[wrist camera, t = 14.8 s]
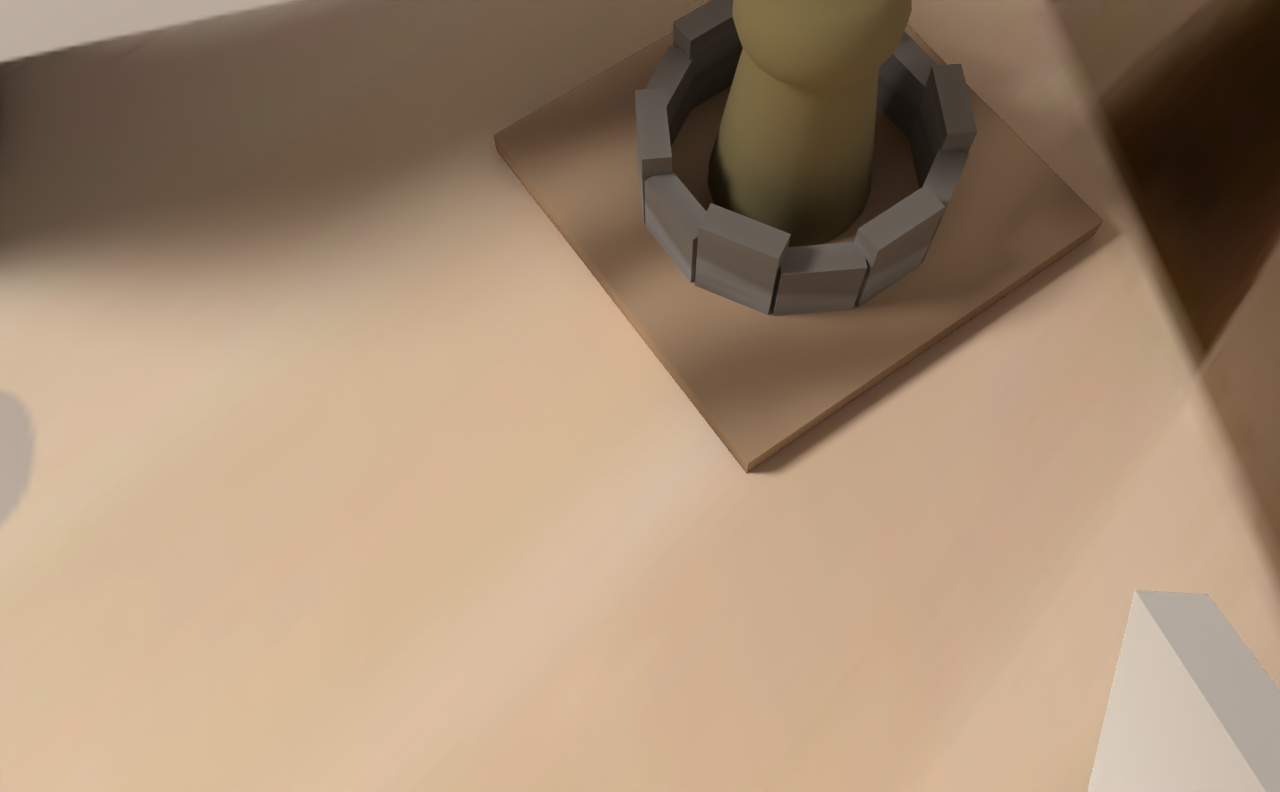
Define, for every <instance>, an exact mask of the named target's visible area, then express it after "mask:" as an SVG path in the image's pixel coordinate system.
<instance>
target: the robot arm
mask: <svg viewBox="0 0 1280 792" xmlns="http://www.w3.org/2000/svg"><path fill="white" fill-rule="evenodd" d="M1087 792H1280V689H1279V688H1278V686H1277V685H1276V684H1275V683H1274V681H1273V680H1272V679H1271V677H1270V676H1269V675H1268V673H1267V672H1266V671H1265V669H1264V668H1263V667H1262V665H1261V664H1260V663H1259V661H1258V660H1257V659H1256V657H1255V656H1254V655H1253V653H1252V652H1251V651H1250V649H1249V648H1248V647H1247V646H1246V644H1245V643H1244V642H1243V640H1242V639H1241V638H1240V636H1239V635H1238V634H1237V632H1236V631H1235V630H1234V628H1233V627H1232V626H1231V624H1230V623H1229V622H1228V620H1227V619H1226V618H1225V616H1224V615H1223V614H1222V612H1221V611H1220V610H1219V608H1218V607H1217V606H1216V605H1215V603H1214V602H1213V601H1212V599H1211V598H1210V597H1209V595H1208V594H1193V593H1176V592H1159V591H1142V590H1135V591H1134V596H1133V600H1132V604H1131V608H1130V613H1129V617H1128V621H1127V625H1126V630H1125V634H1124V638H1123V642H1122V647H1121V651H1120V655H1119V659H1118V664H1117V668H1116V672H1115V676H1114V680H1113V685H1112V689H1111V693H1110V697H1109V702H1108V706H1107V710H1106V714H1105V719H1104V723H1103V727H1102V731H1101V736H1100V740H1099V744H1098V748H1097V753H1096V757H1095V761H1094V765H1093V770H1092V774H1091V778H1090V782H1089V787H1088V791H1087Z"/></svg>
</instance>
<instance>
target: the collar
mask: <svg viewBox="0 0 1280 792" xmlns="http://www.w3.org/2000/svg"><path fill="white" fill-rule="evenodd" d="M732 13H733V0H712V1H710V2H708V3H707V4H705V5H703V6H701V7H700V8H698V9H696V10H694V11H693V12H691V13H689V14H687V15H686V16H684V17H682V18H680V19H679V20H677V21H675V22H674V30H673V32H672V33H671V34H669V35H667V36H665V37H664V38H662V39H660V40H658V41H657V42H655V43H653V44H651V45H650V46H648V47H646V48H645V49H643V50H641V51H639V52H638V53H636V54H634V55H632V56H631V57H629V58H627V59H625V60H624V61H622V62H620V63H618V64H617V65H615V66H613V67H612V68H610V69H608V70H606V71H605V72H603V73H601V74H599V75H598V76H596V77H594V78H592V79H591V80H589V81H587V82H585V83H584V84H582V85H580V86H579V87H577V88H575V89H573V90H572V91H570V92H568V93H566V94H565V95H563V96H561V97H559V98H558V99H556V100H554V101H552V102H551V103H549V104H547V105H545V106H544V107H542V108H540V109H539V110H537V111H535V112H533V113H532V114H530V115H528V116H526V117H525V118H523V119H521V120H519V121H518V122H516V123H514V124H512V125H511V126H509V127H507V128H506V129H504V130H502V131H500V132H499V133H497V134H495V135H494V139H495V144H496V148H497V151H498V153H499V154H500V155H501V156H502V158H503V159H504V160H505V162H506V163H507V164H508V165H509V167H510V168H511V169H512V171H513V172H514V173H515V174H516V176H517V177H518V178H519V180H520V181H521V182H522V184H523V185H524V186H525V187H526V189H527V190H528V191H529V193H530V194H531V195H532V196H533V198H534V199H535V200H536V202H537V203H538V204H539V205H540V207H541V208H542V209H543V211H544V212H545V213H546V215H547V216H548V217H549V218H550V220H551V221H552V222H553V224H554V225H555V226H556V227H557V229H558V230H559V231H560V233H561V234H562V235H563V236H564V238H565V239H566V240H567V242H568V243H569V244H570V246H571V247H572V248H573V249H574V251H575V252H576V253H577V255H578V256H579V257H580V258H581V260H582V261H583V262H584V264H585V265H586V266H587V267H588V269H589V270H590V271H591V273H592V274H593V275H594V277H595V278H596V279H597V280H598V282H599V283H600V284H601V286H602V287H603V288H604V289H605V291H606V292H607V293H608V295H609V296H610V297H611V298H612V300H613V301H614V302H615V304H616V305H617V306H618V308H619V309H620V310H621V311H622V313H623V314H624V315H625V317H626V318H627V319H628V320H629V322H630V323H631V324H632V326H633V327H634V328H635V329H636V331H637V332H638V333H639V335H640V336H641V337H642V339H643V340H644V341H645V342H646V344H647V345H648V346H649V348H650V349H651V350H652V351H653V353H654V354H655V355H656V357H657V358H658V359H659V360H660V362H661V363H662V364H663V366H664V367H665V368H666V370H667V371H668V372H669V373H670V375H671V376H672V377H673V379H674V380H675V381H676V382H677V384H678V385H679V386H680V388H681V389H682V390H683V391H684V393H685V394H686V395H687V397H688V398H689V399H690V401H691V402H692V403H693V404H694V406H695V407H696V408H697V410H698V411H699V412H700V413H701V415H702V416H703V417H704V419H705V420H706V421H707V422H708V424H709V425H710V426H711V428H712V429H713V430H714V432H715V433H716V434H717V435H718V437H719V438H720V439H721V441H722V442H723V443H724V444H725V446H726V447H727V448H728V450H729V451H730V452H731V453H732V455H733V456H734V457H735V459H736V460H737V461H738V463H739V464H740V465H741V466H742V468H743V469H744V470H745V472H746V473H747V472H748V471H750V470H751V469H753V468H754V467H755V466H757V465H758V464H760V463H761V462H763V461H764V460H766V459H767V458H769V457H770V456H772V455H773V454H774V453H776V452H777V451H779V450H780V449H782V448H783V447H785V446H786V445H788V444H789V443H791V442H792V441H793V440H795V439H796V438H798V437H799V436H801V435H802V434H804V433H805V432H807V431H808V430H810V429H811V428H812V427H814V426H815V425H817V424H818V423H820V422H821V421H823V420H824V419H826V418H827V417H829V416H830V415H831V414H833V413H834V412H836V411H837V410H839V409H840V408H842V407H843V406H845V405H846V404H848V403H849V402H850V401H852V400H853V399H855V398H856V397H858V396H859V395H861V394H862V393H864V392H865V391H867V390H868V389H869V388H871V387H872V386H874V385H875V384H877V383H878V382H880V381H881V380H883V379H884V378H886V377H887V376H888V375H890V374H891V373H893V372H894V371H896V370H897V369H899V368H900V367H902V366H903V365H905V364H906V363H907V362H909V361H910V360H912V359H913V358H915V357H916V356H918V355H919V354H921V353H922V352H923V351H925V350H926V349H928V348H929V347H931V346H932V345H934V344H935V343H937V342H938V341H940V340H941V339H942V338H944V337H945V336H947V335H948V334H950V333H951V332H953V331H954V330H956V329H957V328H959V327H960V326H961V325H963V324H964V323H966V322H967V321H969V320H970V319H972V318H973V317H975V316H976V315H978V314H979V313H980V312H982V311H983V310H985V309H986V308H988V307H989V306H991V305H992V304H994V303H995V302H997V301H998V300H999V299H1001V298H1002V297H1004V296H1005V295H1007V294H1008V293H1010V292H1011V291H1013V290H1014V289H1016V288H1017V287H1018V286H1020V285H1021V284H1023V283H1024V282H1026V281H1027V280H1029V279H1030V278H1032V277H1033V276H1035V275H1036V274H1037V273H1039V272H1040V271H1042V270H1043V269H1045V268H1046V267H1048V266H1049V265H1051V264H1052V263H1054V262H1055V261H1056V260H1058V259H1059V258H1061V257H1062V256H1064V255H1065V254H1067V253H1068V252H1070V251H1071V250H1073V249H1074V248H1075V247H1077V246H1078V245H1080V244H1081V243H1083V242H1084V241H1086V240H1087V239H1089V238H1090V237H1091V236H1093V235H1094V234H1095V232H1096V231H1097V229H1098V228H1099V226H1100V225H1101V223H1102V222H1103V220H1102V219H1101V218H1100V217H1099V216H1098V215H1097V214H1096V213H1095V212H1094V211H1093V210H1092V209H1091V208H1090V207H1089V206H1088V205H1087V204H1086V203H1085V202H1084V201H1083V200H1082V199H1081V198H1080V197H1079V196H1078V195H1077V194H1076V193H1075V192H1074V191H1073V190H1072V189H1071V188H1070V187H1069V186H1068V185H1067V184H1066V183H1065V182H1064V181H1063V180H1062V179H1061V178H1060V177H1059V176H1058V175H1057V174H1056V173H1055V172H1054V171H1053V170H1052V169H1051V168H1050V167H1049V166H1048V165H1047V164H1046V163H1045V162H1044V161H1043V160H1042V159H1041V158H1040V157H1039V156H1038V155H1037V154H1036V153H1035V152H1034V151H1033V150H1032V149H1031V148H1030V147H1029V146H1028V145H1027V144H1026V143H1025V142H1024V141H1023V140H1022V139H1021V138H1020V137H1019V136H1018V135H1017V134H1016V133H1015V132H1014V131H1013V130H1012V129H1011V128H1010V127H1009V126H1008V125H1007V124H1006V123H1005V122H1004V121H1003V120H1002V119H1001V118H1000V117H999V116H998V115H997V114H996V113H995V112H994V111H993V110H992V109H991V108H990V107H989V106H988V105H987V104H986V103H985V102H984V101H983V100H982V99H981V98H980V97H979V96H978V95H977V94H976V93H975V92H974V91H973V90H972V89H971V88H970V87H969V86H968V85H967V84H966V82H965V78H964V74H963V70H962V66H961V64H952V65H947V64H946V63H945V62H944V61H943V60H942V59H941V58H940V57H939V56H938V55H937V54H936V53H935V52H934V51H933V50H932V49H931V48H930V47H929V46H928V45H927V44H926V43H925V42H924V41H923V40H922V39H921V38H920V37H919V36H918V35H917V34H916V33H915V32H914V31H913V30H912V29H911V28H910V27H909V26H908V25H906V28H905V30H904V33H903V35H902V38H901V40H900V43H899V45H898V46H897V48H896V49H895V50H894V52H893V53H892V54H891V56H890V57H889V58H888V59H887V60H886V61H885V62H884V63H883V64H882V66H881V67H880V68H879V77H878V92H877V106H876V120H875V134H874V149H873V163H872V177H871V191H870V195H869V197H868V200H867V203H866V205H865V208H864V210H863V213H862V214H861V215H860V216H859V218H858V219H857V220H856V221H855V222H854V223H853V224H852V225H851V227H850V228H849V229H848V230H847V231H845V232H844V233H842V234H840V235H838V236H837V237H835V238H833V239H831V240H829V241H828V242H826V243H823V244H818V245H811V246H799V247H788V245H789V241H790V236H791V234H789V233H787V232H784V231H782V230H779V229H776V228H774V227H771V226H769V225H766V224H764V223H761V222H758V221H756V220H753V219H751V218H748V217H746V216H743V215H740V214H738V213H735V212H733V211H730V210H728V209H725V208H722V207H720V206H717V205H715V204H714V203H713V199H712V196H711V193H710V190H709V187H708V170H709V160H710V157H711V154H712V150H713V147H714V144H715V140H716V137H717V133H718V130H719V127H720V123H721V120H722V116H723V113H724V110H725V106H726V103H727V100H728V96H729V93H730V89H731V86H732V83H733V79H734V76H735V72H736V69H737V66H738V62H739V59H740V55H741V52H742V49H743V48H742V45H741V42H740V39H739V36H738V33H737V30H736V27H735V23H734V20H733V16H732Z"/></svg>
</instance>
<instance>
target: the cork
mask: <svg viewBox="0 0 1280 792" xmlns="http://www.w3.org/2000/svg"><path fill="white" fill-rule="evenodd" d="M910 13H911V0H733V13H732V16H733V20H734V23H735V27H736V30H737V33H738V36H739V39H740V42H741V45H742V48H743V49H742V52H741V55H740V59H739V62H738V66H737V69H736V72H735V76H734V79H733V83H732V86H731V89H730V93H729V96H728V100H727V103H726V106H725V110H724V113H723V116H722V120H721V123H720V127H719V130H718V133H717V137H716V140H715V144H714V147H713V150H712V154H711V157H710V160H709V170H708V187H709V190H710V193H711V196H712V199H713V203H714V204H715V205H717V206H720V207H722V208H725V209H728V210H730V211H733V212H735V213H738V214H740V215H743V216H746V217H748V218H751V219H753V220H756V221H758V222H761V223H764V224H766V225H769V226H771V227H774V228H776V229H779V230H782V231H784V232H787V233H789V234H791V236H790V241H789V245H788V247H799V246H811V245H818V244H823V243H826V242H828V241H829V240H831V239H833V238H835V237H837V236H838V235H840V234H842V233H844V232H845V231H847V230H848V229H849V228H850V227H851V225H852V224H853V223H854V222H855V221H856V220H857V219H858V218H859V216H860V215H861V214H862V213H863V210H864V208H865V205H866V203H867V200H868V197H869V195H870V191H871V177H872V163H873V149H874V134H875V120H876V106H877V92H878V77H879V68H880V67H881V66H882V64H883V63H884V62H885V61H886V60H887V59H888V58H889V57H890V56H891V54H892V53H893V52H894V50H895V49H896V48H897V46H898V45H899V43H900V40H901V38H902V35H903V33H904V30H905V28H906V25H907V22H908V19H909V16H910Z"/></svg>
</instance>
